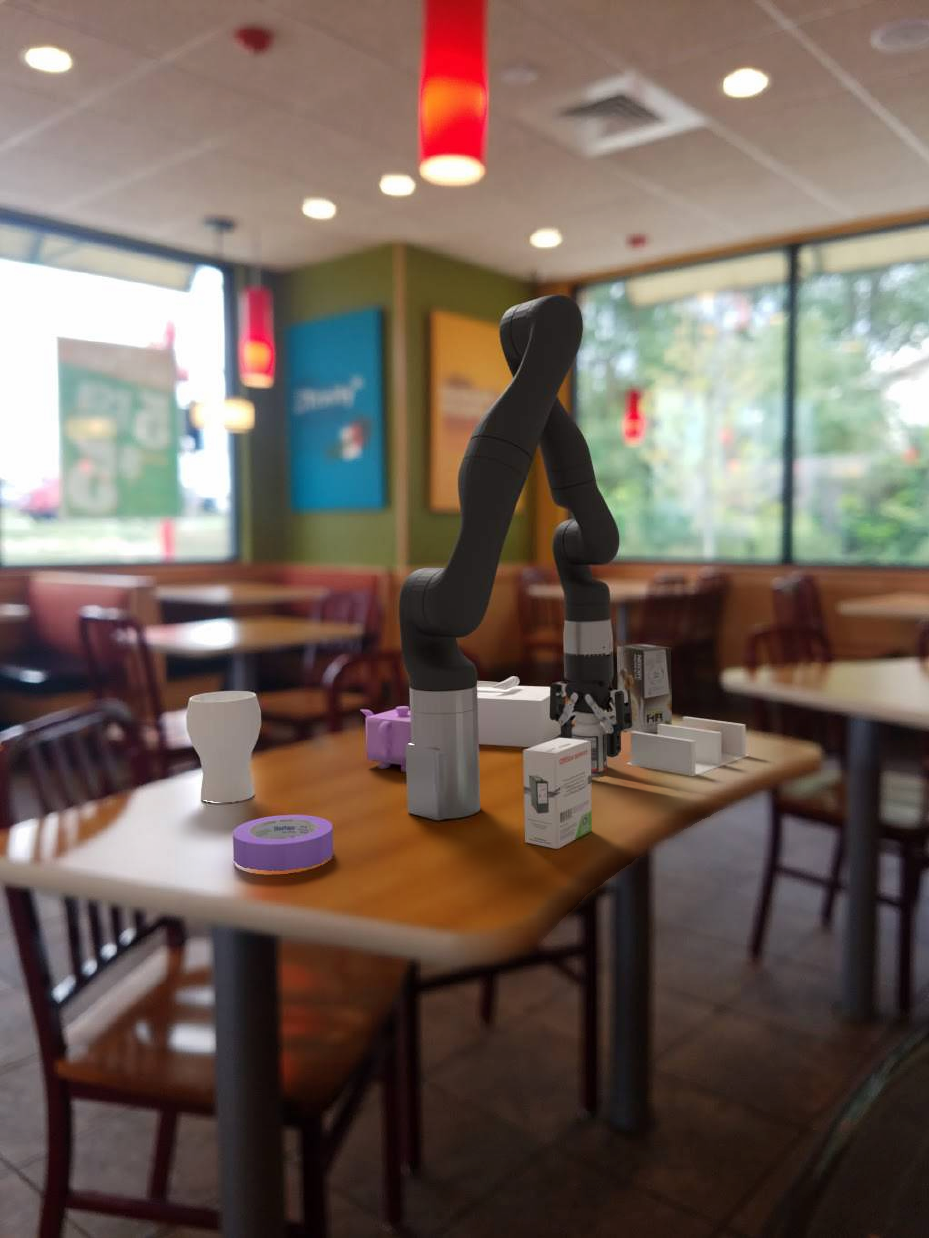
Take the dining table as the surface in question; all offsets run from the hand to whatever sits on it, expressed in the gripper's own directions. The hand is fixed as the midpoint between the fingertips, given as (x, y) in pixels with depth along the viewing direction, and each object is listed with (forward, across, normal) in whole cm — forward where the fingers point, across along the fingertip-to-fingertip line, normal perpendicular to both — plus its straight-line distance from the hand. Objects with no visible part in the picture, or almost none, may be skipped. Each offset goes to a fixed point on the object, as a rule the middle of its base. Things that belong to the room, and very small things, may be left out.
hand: (590, 752), depth 150 cm
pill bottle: (+4, 0, 0) cm, 4 cm away
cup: (+3, -33, -44) cm, 55 cm away
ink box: (+3, +16, -27) cm, 32 cm away
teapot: (+3, -27, -14) cm, 31 cm away
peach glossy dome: (+3, +9, +17) cm, 20 cm away
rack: (+4, +9, +14) cm, 17 cm away
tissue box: (+4, -32, +10) cm, 34 cm away
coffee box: (+4, -11, +31) cm, 33 cm away
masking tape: (+3, -4, -54) cm, 55 cm away
